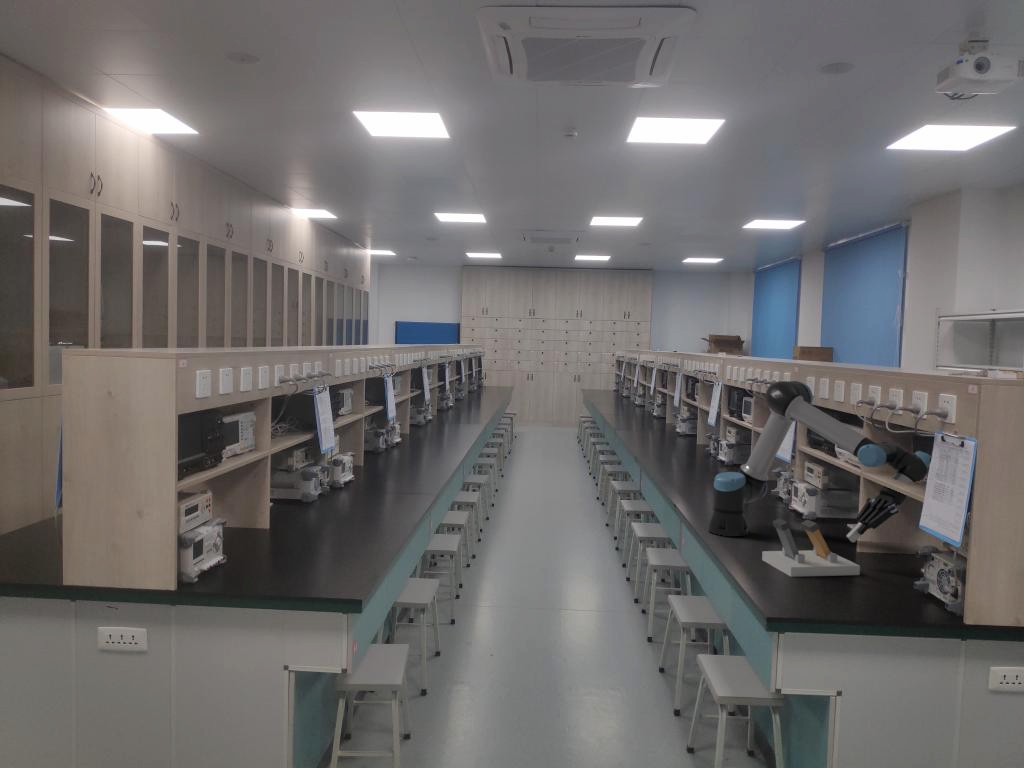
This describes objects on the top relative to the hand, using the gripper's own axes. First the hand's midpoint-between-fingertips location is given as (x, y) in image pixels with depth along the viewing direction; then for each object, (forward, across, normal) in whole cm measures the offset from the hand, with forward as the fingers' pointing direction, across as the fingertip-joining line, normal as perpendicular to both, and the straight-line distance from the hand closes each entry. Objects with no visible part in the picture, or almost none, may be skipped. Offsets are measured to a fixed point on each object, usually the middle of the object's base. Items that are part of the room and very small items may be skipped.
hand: (850, 539), depth 215 cm
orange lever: (+10, 0, +3) cm, 10 cm away
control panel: (+17, 0, +4) cm, 17 cm away
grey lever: (+18, 0, +11) cm, 21 cm away
